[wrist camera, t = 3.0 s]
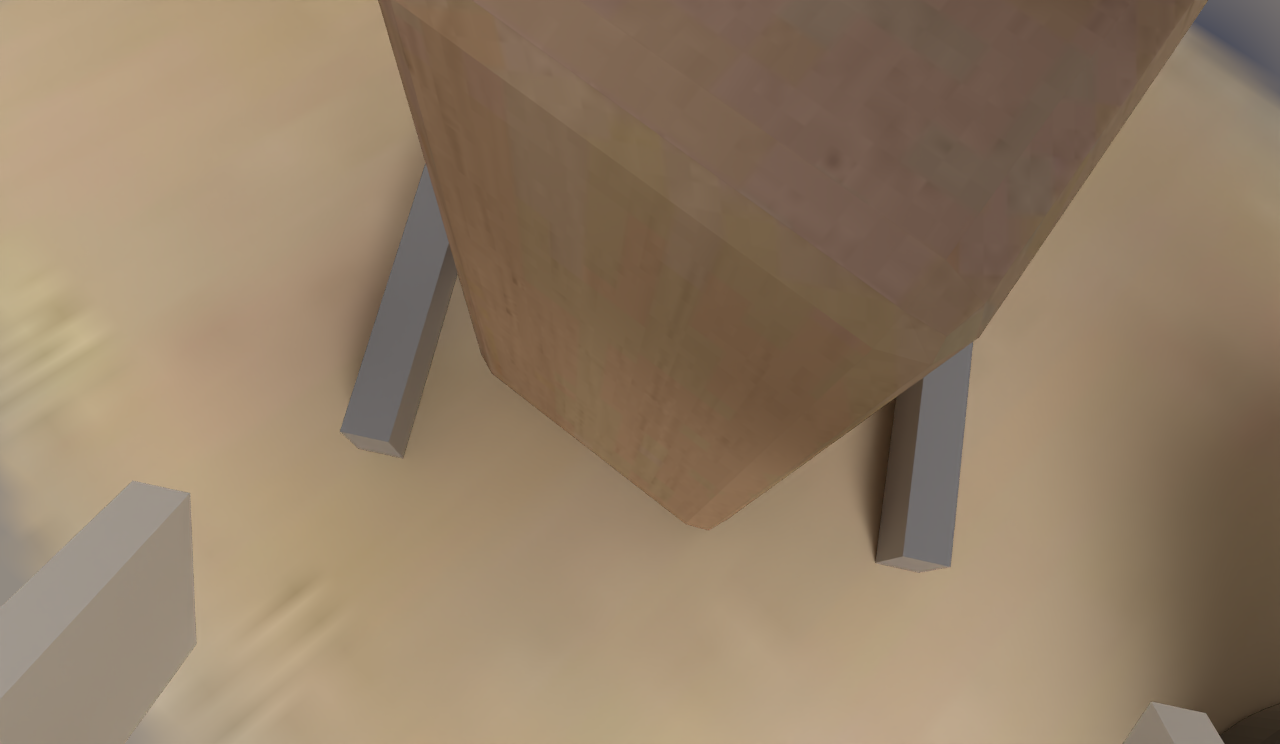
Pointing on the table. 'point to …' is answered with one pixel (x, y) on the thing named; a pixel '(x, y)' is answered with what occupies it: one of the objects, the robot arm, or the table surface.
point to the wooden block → (753, 202)
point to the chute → (412, 327)
